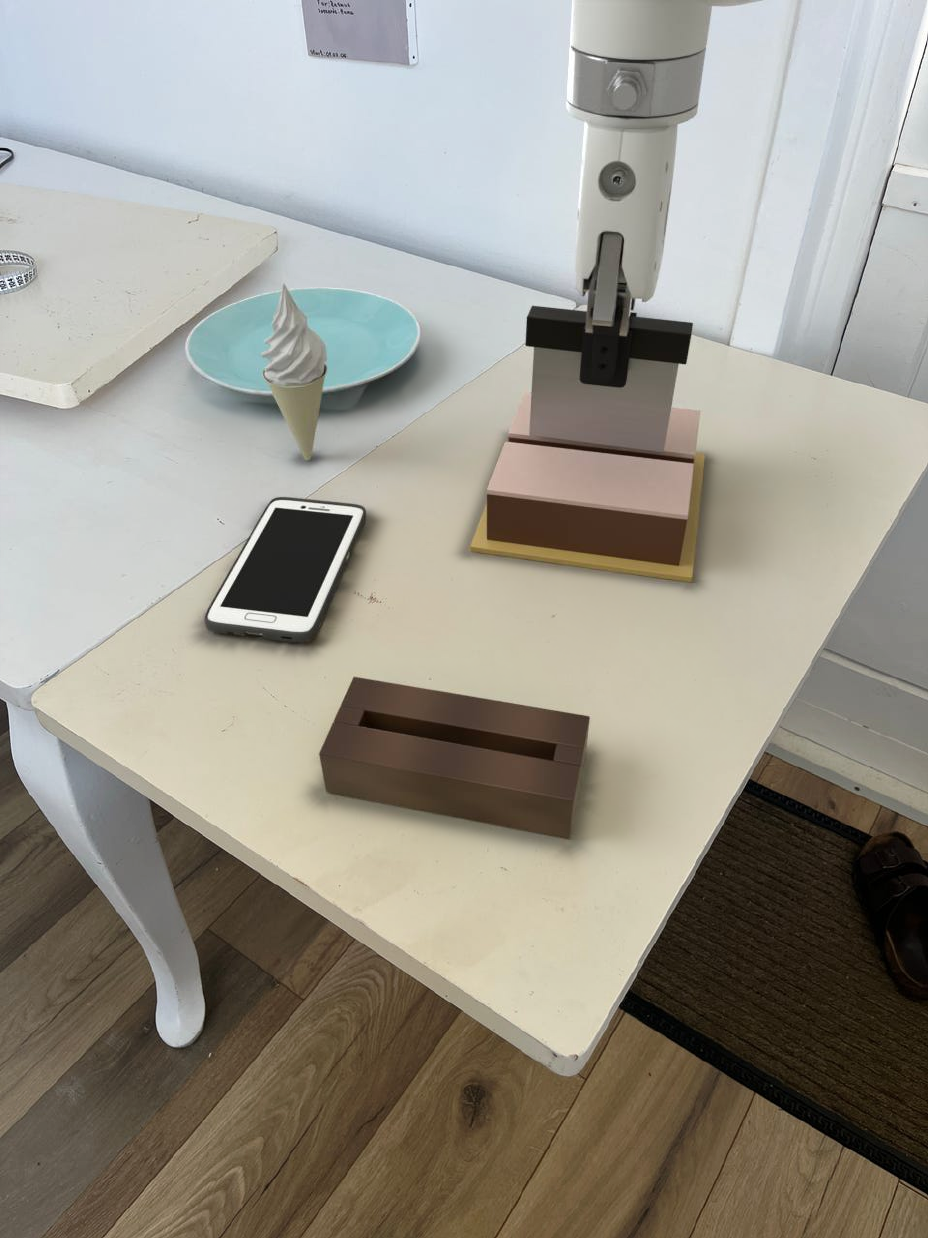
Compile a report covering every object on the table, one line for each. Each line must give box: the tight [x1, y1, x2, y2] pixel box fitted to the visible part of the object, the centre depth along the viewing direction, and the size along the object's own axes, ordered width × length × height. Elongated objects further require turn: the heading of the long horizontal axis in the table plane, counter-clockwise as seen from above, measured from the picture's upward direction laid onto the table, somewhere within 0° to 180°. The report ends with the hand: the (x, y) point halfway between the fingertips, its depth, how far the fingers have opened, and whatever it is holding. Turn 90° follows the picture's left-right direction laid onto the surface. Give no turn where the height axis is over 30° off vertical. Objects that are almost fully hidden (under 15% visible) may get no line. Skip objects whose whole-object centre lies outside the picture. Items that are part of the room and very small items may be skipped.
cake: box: [469, 391, 706, 583], centre depth 72 cm, size 16×16×5 cm
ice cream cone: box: [261, 283, 328, 462], centre depth 74 cm, size 5×5×15 cm
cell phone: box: [203, 496, 367, 643], centre depth 68 cm, size 8×15×1 cm, turn 169°
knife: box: [525, 305, 694, 453], centre depth 67 cm, size 11×2×10 cm, turn 76°
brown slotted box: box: [318, 676, 591, 840], centre depth 54 cm, size 14×6×4 cm, turn 76°
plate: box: [184, 287, 422, 398], centre depth 91 cm, size 22×22×3 cm
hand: (605, 372), depth 67 cm, fingers closed on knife, 2 cm apart
